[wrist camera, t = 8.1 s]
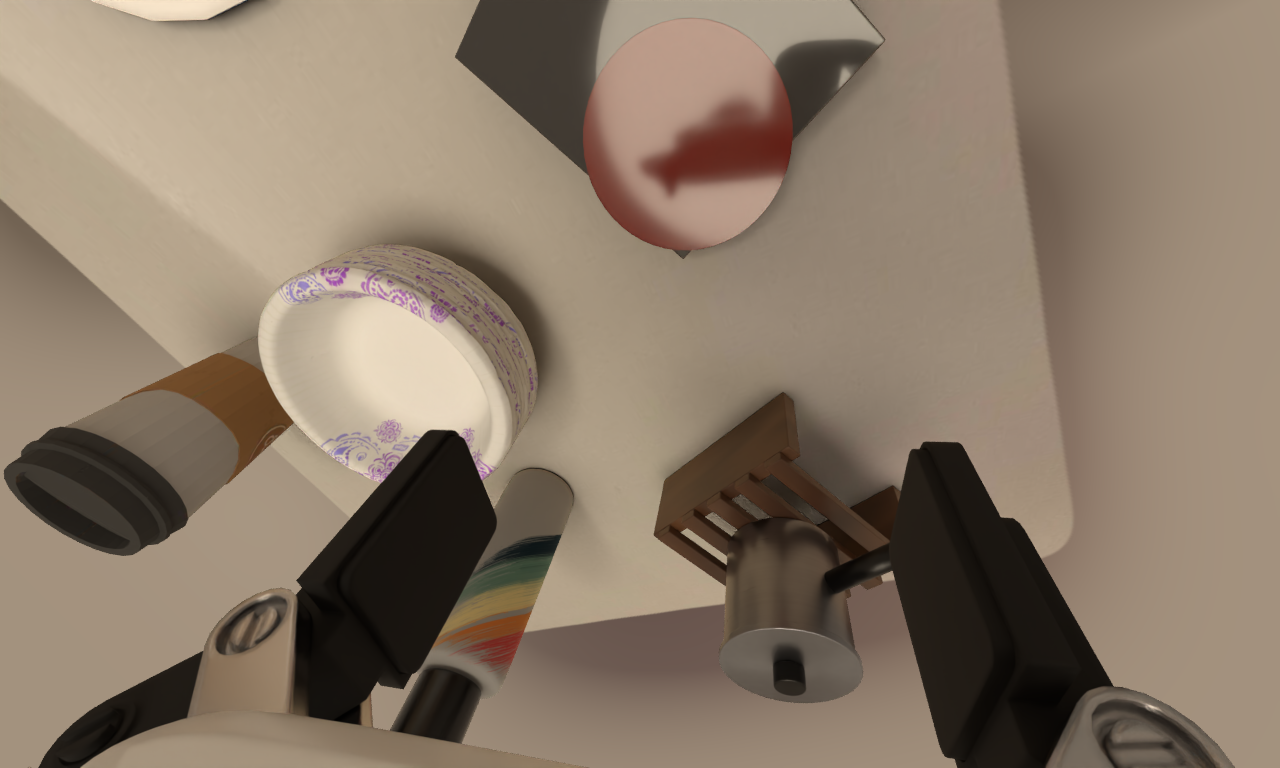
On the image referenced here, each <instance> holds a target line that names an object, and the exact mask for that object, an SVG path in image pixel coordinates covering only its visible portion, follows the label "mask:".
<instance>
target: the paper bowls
mask: <svg viewBox="0 0 1280 768" xmlns="http://www.w3.org/2000/svg"><path fill="white" fill-rule="evenodd" d="M258 347H259V353H260V358H261V362H262V366H263V369H264V372H265V375H266V378H267V380H268V382H269V384H270V386H271V388H272V390H273V392H274V394H275V396H276V398H277V399H278V401H279V403H280V404H281V406H282V407H283V408H284V410H285V411H286V413H287V414H288V415H289V416H290V418H291V419H292V420H293V421H294V422H295V424H296V425H297V426H298V427H299V428H300V429H301V430H302V431H303V432H304V433H305V434H306V435H307V436H308V437H309V438H310V439H311V440H312V441H313V442H314V443H315V444H316V445H317V446H319V447H320V448H321V449H322V450H324V451H325V452H326V453H327V454H329V455H330V456H332V457H333V458H334V459H336V460H337V461H339V462H340V463H342V464H343V465H345V466H347V467H348V468H350V469H352V470H353V471H355V472H357V473H359V474H361V475H363V476H365V477H367V478H370V479H372V480H374V481H377V482H379V483H382V482H383V481H384V479H385V478H386V477H387V476H388V475H389V474H390V473H391V471H392V470H393V469H394V468H395V467H396V466H397V465H398V463H399V462H400V461H401V460H402V459H403V458H404V456H405V455H406V454H407V453H408V452H409V451H410V450H411V448H412V447H413V446H414V445H415V444H416V443H417V442H418V440H419V439H420V438H421V437H422V436H423V435H424V434H425V433H426V432H427V431H429V430H454V431H456V432H457V433H458V434H459V436H460V437H463V438H464V439H465V441H466V443H467V445H468V448H469V450H470V453H471V455H472V458H473V460H474V463H475V465H476V467H477V470H478V472H479V475H480V477H481V480H484V479H485V478H486V477H488V476H489V475H490V474H492V473H493V472H494V471H495V470H496V469H497V468H498V467H499V466H500V465H501V463H502V461H503V460H504V458H505V457H506V455H507V453H508V452H509V450H510V449H511V447H512V445H513V443H514V442H515V440H516V438H517V437H518V435H519V433H520V432H521V430H522V428H523V426H524V424H525V423H526V422H527V420H528V418H529V416H530V415H531V412H532V410H533V408H534V404H535V401H536V396H537V390H538V372H537V367H536V360H535V356H534V352H533V349H532V346H531V344H530V341H529V340H528V337H527V334H526V332H525V330H524V328H523V325H522V324H521V322H520V321H519V320H518V318H517V317H516V316H515V314H514V313H513V312H512V310H511V309H510V307H509V306H508V305H507V304H506V302H505V301H504V300H503V299H502V298H500V297H499V296H498V295H497V294H496V293H494V292H493V291H492V290H491V289H490V288H489V287H488V286H487V285H486V284H485V283H484V282H482V281H481V280H480V279H479V278H478V277H476V276H475V275H474V274H472V273H471V272H469V271H467V270H466V269H464V268H463V267H461V266H458V265H456V264H455V263H454V262H453V261H451V260H449V259H447V258H444V257H442V256H440V255H436V254H434V253H432V252H429V251H426V250H422V249H420V248H415V247H411V246H402V245H395V244H391V245H390V244H383V245H373V246H367V247H365V248H360V249H357V250H353V251H349V252H347V253H344V254H342V255H340V256H338V257H336V258H334V259H331V260H329V261H326V262H324V263H322V264H319V265H317V266H315V267H314V268H312V269H310V270H308V271H306V272H303V273H300V274H298V275H296V276H294V277H292V278H290V279H289V280H288V281H286V282H284V283H283V284H282V285H281V286H279V287H278V288H277V289H276V290H275V292H274V293H273V294H272V295H271V297H270V299H269V300H268V302H267V304H266V306H265V308H264V310H263V312H262V315H261V318H260V323H259V330H258Z"/></svg>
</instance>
